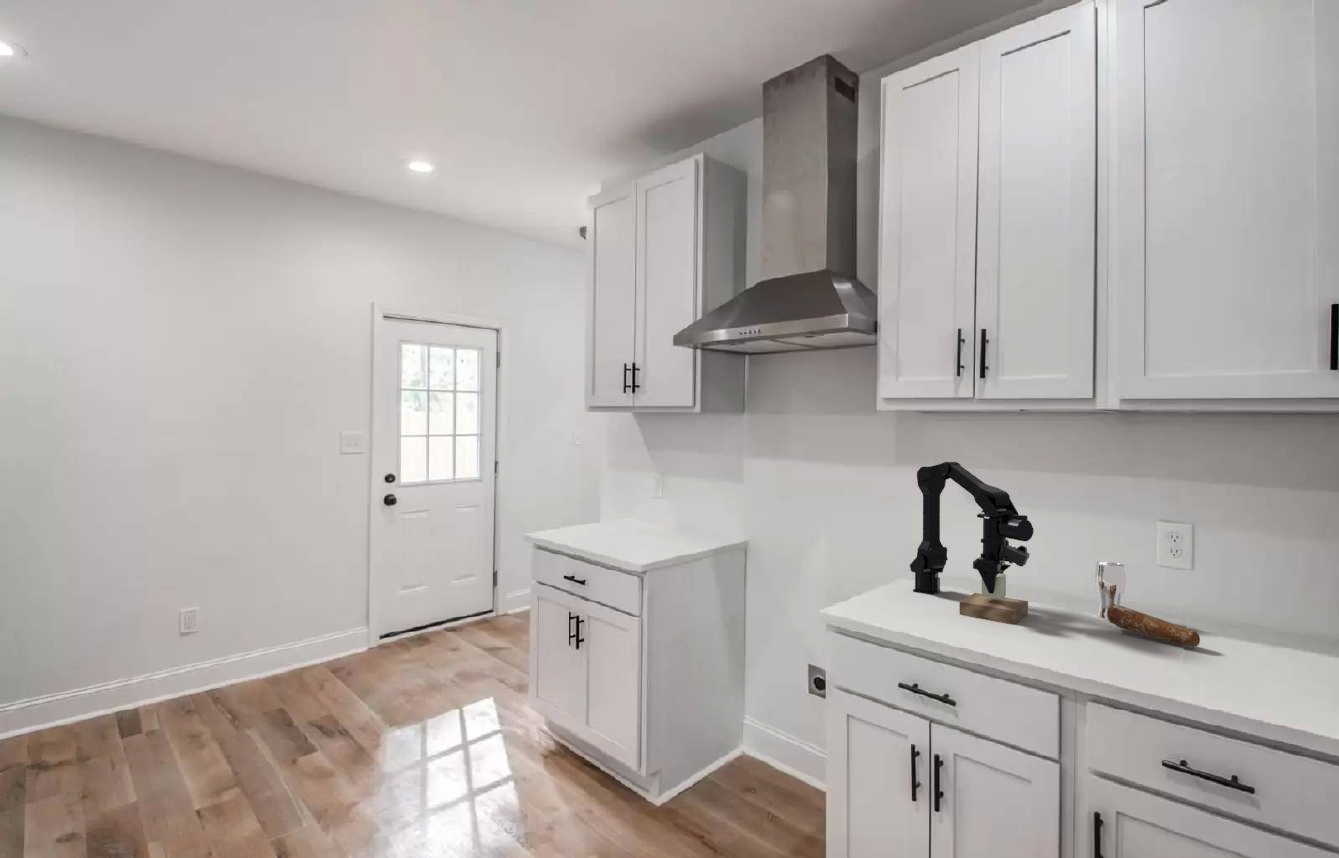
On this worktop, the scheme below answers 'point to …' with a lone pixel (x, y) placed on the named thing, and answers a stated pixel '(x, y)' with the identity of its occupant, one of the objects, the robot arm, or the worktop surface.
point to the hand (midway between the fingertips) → (993, 591)
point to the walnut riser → (994, 608)
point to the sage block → (996, 588)
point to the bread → (1151, 626)
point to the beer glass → (1109, 585)
